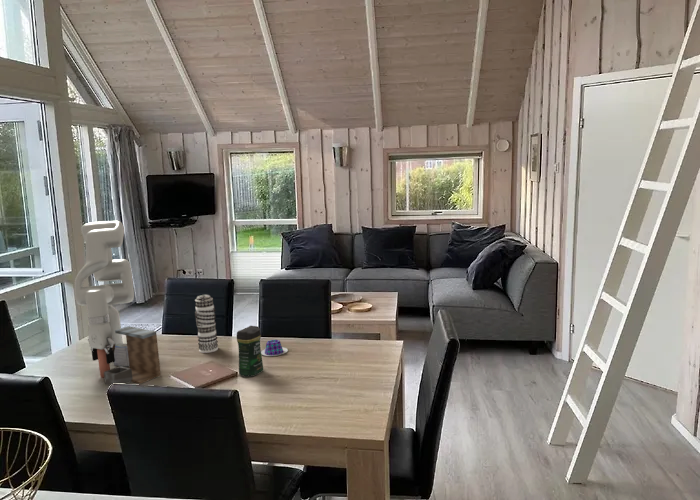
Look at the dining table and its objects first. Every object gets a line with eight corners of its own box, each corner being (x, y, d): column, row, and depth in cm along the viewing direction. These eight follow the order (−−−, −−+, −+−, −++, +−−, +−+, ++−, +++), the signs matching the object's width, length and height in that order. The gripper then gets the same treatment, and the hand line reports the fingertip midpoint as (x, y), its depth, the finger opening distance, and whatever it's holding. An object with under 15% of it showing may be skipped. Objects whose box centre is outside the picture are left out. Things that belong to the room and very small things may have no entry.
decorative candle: (223, 347, 251) (218, 294, 247) (208, 354, 243) (203, 299, 239) (209, 345, 256) (204, 292, 252) (193, 351, 248) (188, 297, 244)
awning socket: (97, 381, 216) (91, 337, 214) (133, 368, 230) (128, 326, 227) (124, 390, 206) (119, 343, 204) (160, 375, 220) (156, 331, 217)
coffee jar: (252, 378, 211) (248, 331, 208) (236, 376, 214) (232, 330, 212) (267, 369, 220) (263, 324, 217) (250, 367, 223) (247, 323, 220)
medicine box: (135, 363, 236) (133, 343, 235) (128, 367, 232) (126, 347, 231) (120, 362, 239) (118, 342, 237) (113, 365, 234) (111, 346, 233)
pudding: (284, 346, 248) (283, 335, 248) (290, 354, 237) (289, 343, 236) (258, 351, 245) (257, 339, 244) (263, 359, 233) (262, 347, 233)
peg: (98, 376, 222) (94, 348, 220) (107, 373, 225) (103, 345, 224) (104, 378, 220) (100, 349, 218) (113, 375, 223) (109, 346, 221)
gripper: (77, 320, 221) (82, 361, 223) (102, 324, 211) (107, 367, 213) (95, 315, 227) (100, 355, 229) (120, 319, 217) (125, 361, 219)
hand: (103, 361), depth 221 cm, fingers open, 9 cm apart
